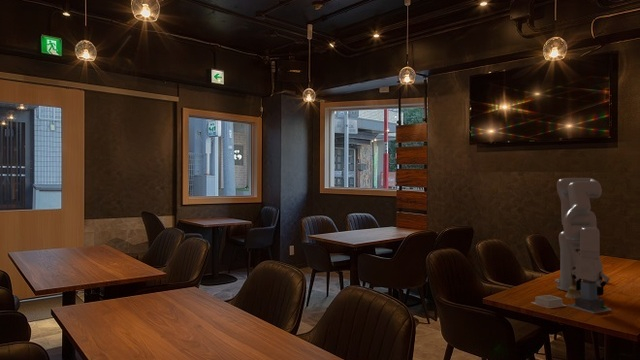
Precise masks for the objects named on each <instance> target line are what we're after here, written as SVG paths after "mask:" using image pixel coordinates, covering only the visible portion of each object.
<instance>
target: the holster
mask: <svg viewBox="0 0 640 360" xmlns="http://www.w3.org/2000/svg"><path fill="white" fill-rule="evenodd" d="M534 299H535V301H531V302H530V303H531V304H533V305H536V306H539V307H543V308H545V309H553V308H555V309H556V308H562V307H568V304H567V305H566V304H564V303H563V300H564V299H563V297H562V298H561V297H559V296H556V295H555V296H554V295H551V294H547V295H538V296H535V297H534Z"/></svg>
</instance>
